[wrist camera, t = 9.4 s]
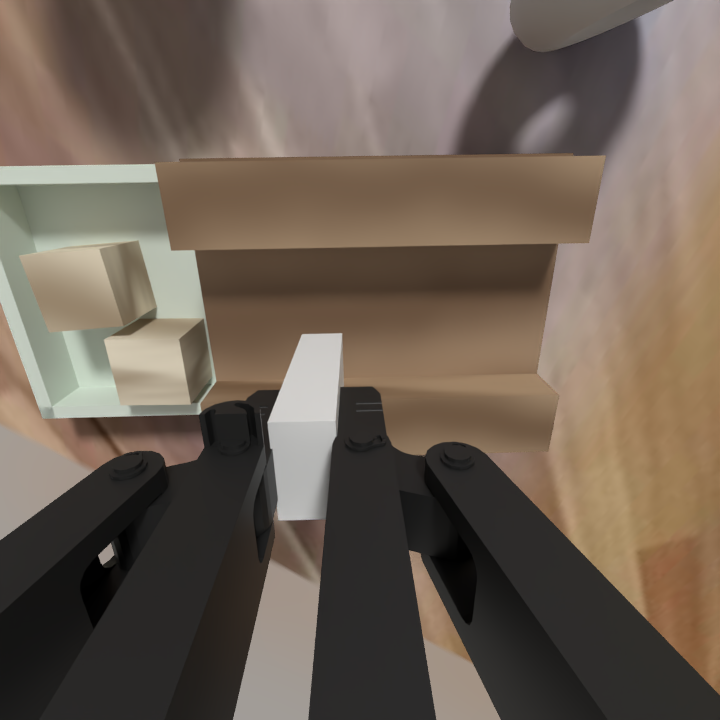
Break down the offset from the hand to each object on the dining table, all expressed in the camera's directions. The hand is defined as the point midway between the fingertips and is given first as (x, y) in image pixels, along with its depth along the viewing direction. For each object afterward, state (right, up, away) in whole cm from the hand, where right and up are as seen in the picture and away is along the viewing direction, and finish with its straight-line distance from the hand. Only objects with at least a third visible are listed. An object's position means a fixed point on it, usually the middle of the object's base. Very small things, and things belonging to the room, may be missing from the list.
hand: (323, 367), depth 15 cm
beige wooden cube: (-10, +2, +8) cm, 13 cm away
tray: (-13, +5, +10) cm, 17 cm away
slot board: (+2, +5, +10) cm, 11 cm away
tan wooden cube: (-13, +4, +5) cm, 15 cm away
